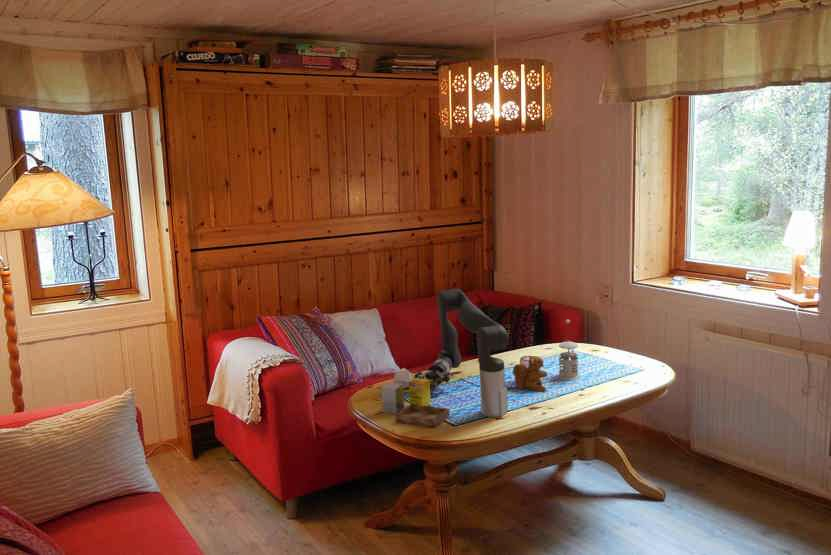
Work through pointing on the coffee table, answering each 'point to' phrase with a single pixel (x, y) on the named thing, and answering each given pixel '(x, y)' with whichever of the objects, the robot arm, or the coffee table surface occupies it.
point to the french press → (568, 366)
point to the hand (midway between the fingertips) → (427, 382)
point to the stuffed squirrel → (530, 375)
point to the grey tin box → (392, 398)
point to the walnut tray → (423, 415)
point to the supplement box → (419, 391)
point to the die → (403, 377)
